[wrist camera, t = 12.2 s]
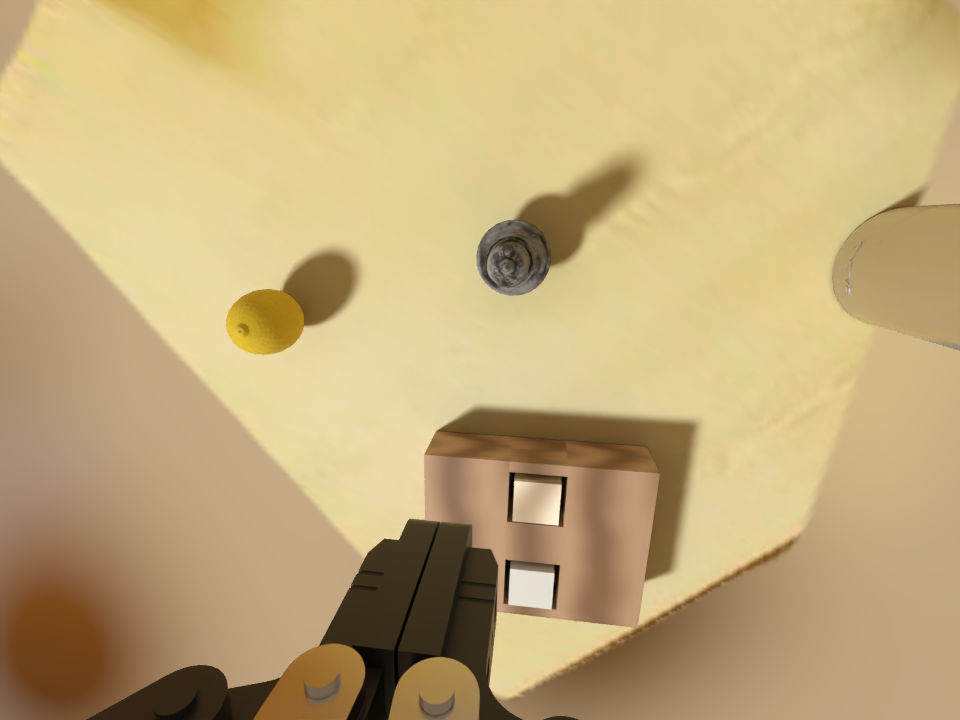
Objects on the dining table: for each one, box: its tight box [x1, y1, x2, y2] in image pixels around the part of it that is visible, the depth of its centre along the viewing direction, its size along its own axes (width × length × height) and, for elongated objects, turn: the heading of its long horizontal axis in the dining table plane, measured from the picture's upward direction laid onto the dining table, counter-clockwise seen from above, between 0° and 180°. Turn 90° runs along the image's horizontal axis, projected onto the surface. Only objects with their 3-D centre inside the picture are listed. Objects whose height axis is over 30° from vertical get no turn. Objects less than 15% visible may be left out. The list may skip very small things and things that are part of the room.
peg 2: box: [508, 560, 554, 610], centre depth 45 cm, size 4×4×5 cm
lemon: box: [226, 289, 304, 355], centre depth 40 cm, size 6×6×8 cm
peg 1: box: [512, 473, 562, 526], centre depth 43 cm, size 4×4×5 cm
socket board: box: [424, 431, 660, 628], centre depth 44 cm, size 20×16×5 cm
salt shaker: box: [477, 220, 551, 296], centre depth 35 cm, size 6×6×12 cm
